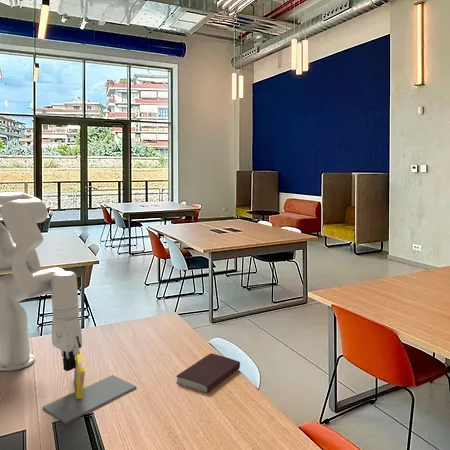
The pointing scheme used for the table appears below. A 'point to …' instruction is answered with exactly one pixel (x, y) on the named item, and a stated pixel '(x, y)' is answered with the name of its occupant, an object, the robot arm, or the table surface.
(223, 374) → the book
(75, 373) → the candy box
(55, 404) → the mat
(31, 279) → the robot arm
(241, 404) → the table surface
